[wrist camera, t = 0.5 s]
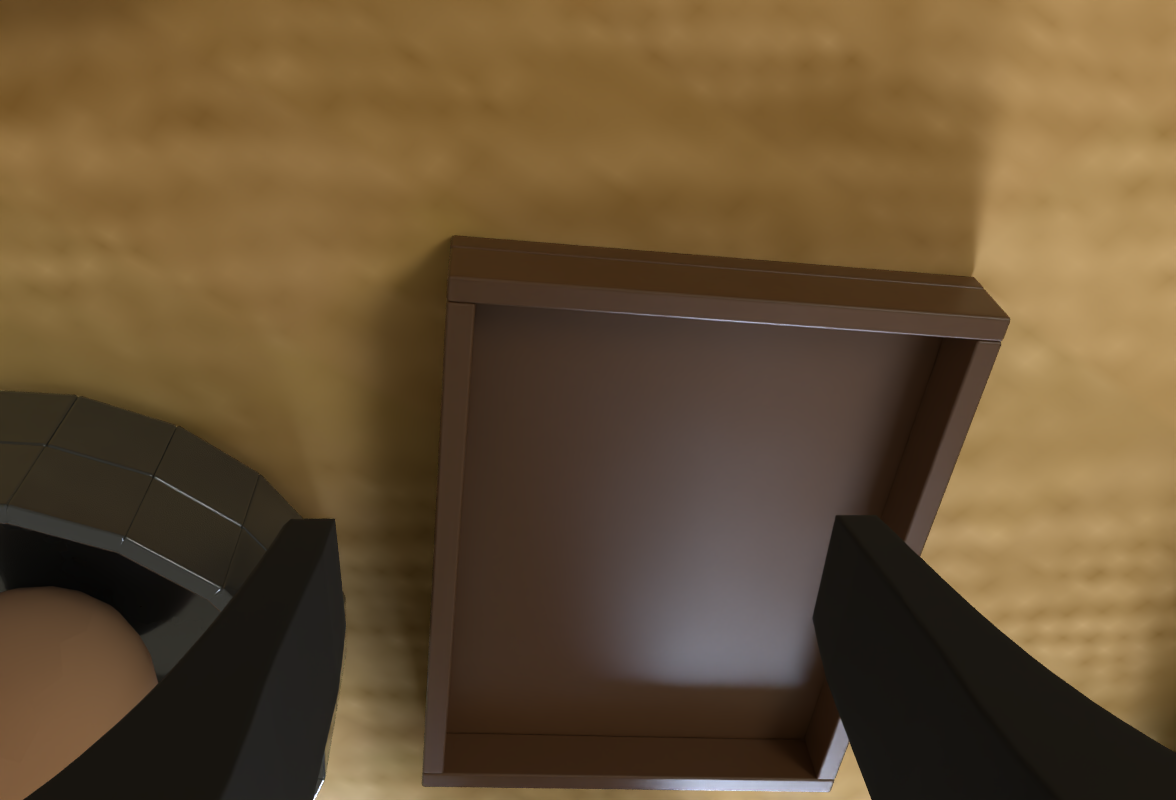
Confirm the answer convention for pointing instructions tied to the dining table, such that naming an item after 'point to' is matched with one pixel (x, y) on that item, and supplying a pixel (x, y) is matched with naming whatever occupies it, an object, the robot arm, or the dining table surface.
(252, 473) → the dark grey mixing bowl
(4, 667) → the egg
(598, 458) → the tray
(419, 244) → the dining table surface
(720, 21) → the dining table surface
